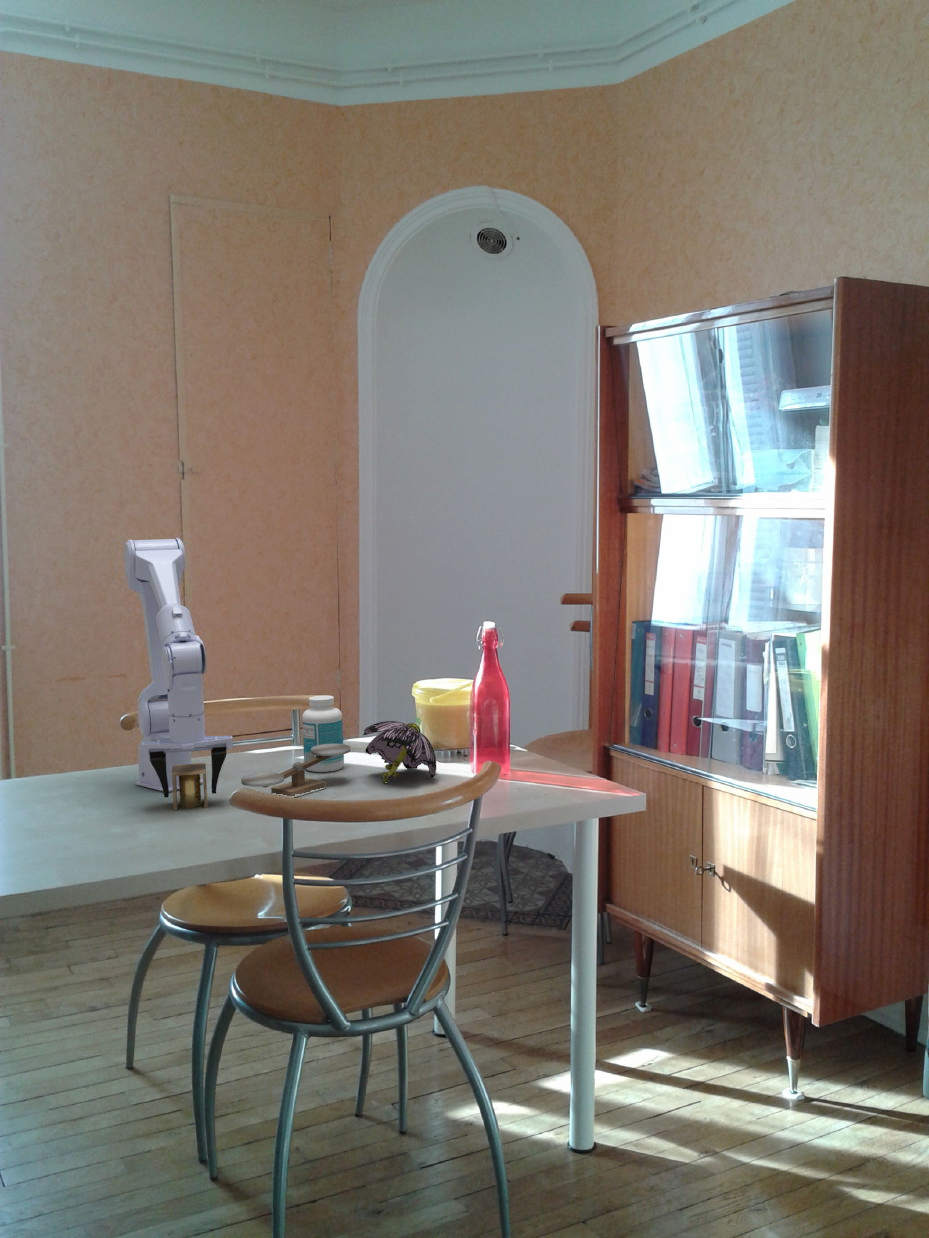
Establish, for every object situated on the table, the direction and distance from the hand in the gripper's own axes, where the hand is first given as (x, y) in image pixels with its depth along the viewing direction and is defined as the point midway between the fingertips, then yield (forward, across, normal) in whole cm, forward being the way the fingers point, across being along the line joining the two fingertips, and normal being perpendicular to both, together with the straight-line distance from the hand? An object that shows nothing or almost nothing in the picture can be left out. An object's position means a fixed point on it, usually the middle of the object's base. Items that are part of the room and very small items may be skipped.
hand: (190, 794), depth 186 cm
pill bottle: (+2, +24, +18) cm, 30 cm away
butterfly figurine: (+2, +37, +6) cm, 38 cm away
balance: (+2, +18, +3) cm, 18 cm away
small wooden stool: (+2, 0, 0) cm, 2 cm away
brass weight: (+2, 0, 0) cm, 2 cm away
